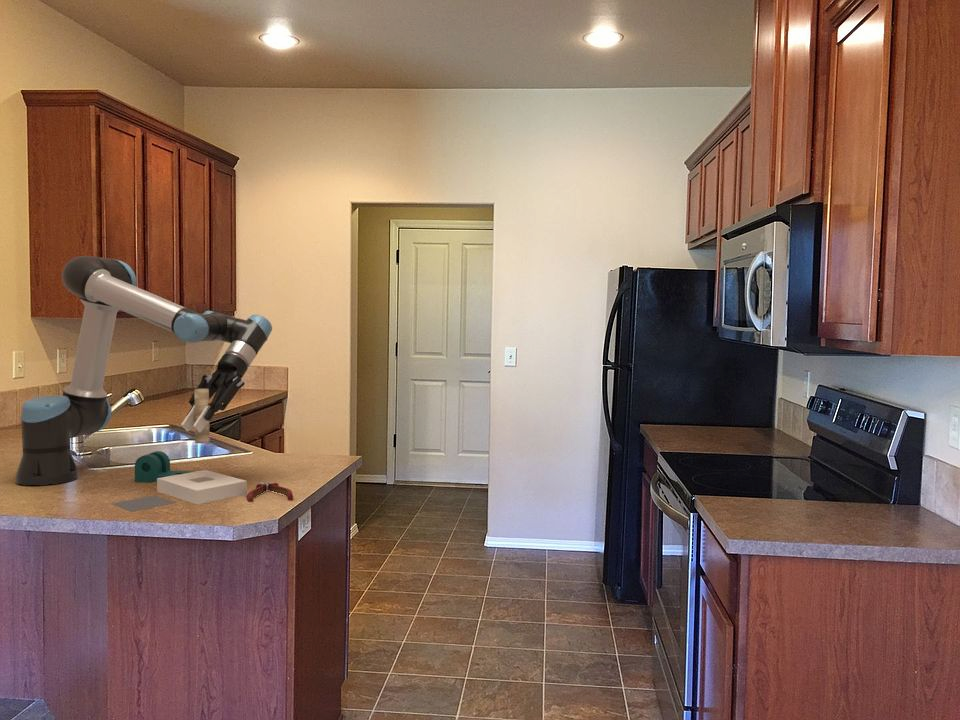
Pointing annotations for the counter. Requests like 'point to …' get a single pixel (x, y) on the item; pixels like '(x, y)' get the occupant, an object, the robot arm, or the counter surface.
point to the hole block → (201, 486)
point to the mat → (143, 503)
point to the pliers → (270, 486)
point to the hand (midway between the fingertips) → (191, 428)
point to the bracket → (154, 467)
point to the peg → (200, 405)
